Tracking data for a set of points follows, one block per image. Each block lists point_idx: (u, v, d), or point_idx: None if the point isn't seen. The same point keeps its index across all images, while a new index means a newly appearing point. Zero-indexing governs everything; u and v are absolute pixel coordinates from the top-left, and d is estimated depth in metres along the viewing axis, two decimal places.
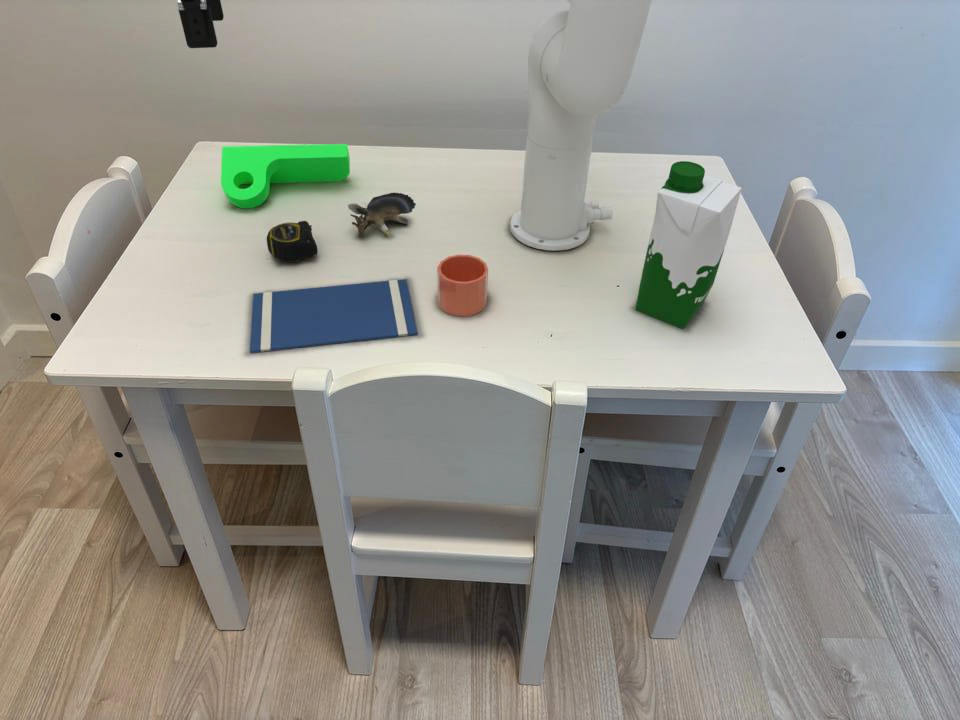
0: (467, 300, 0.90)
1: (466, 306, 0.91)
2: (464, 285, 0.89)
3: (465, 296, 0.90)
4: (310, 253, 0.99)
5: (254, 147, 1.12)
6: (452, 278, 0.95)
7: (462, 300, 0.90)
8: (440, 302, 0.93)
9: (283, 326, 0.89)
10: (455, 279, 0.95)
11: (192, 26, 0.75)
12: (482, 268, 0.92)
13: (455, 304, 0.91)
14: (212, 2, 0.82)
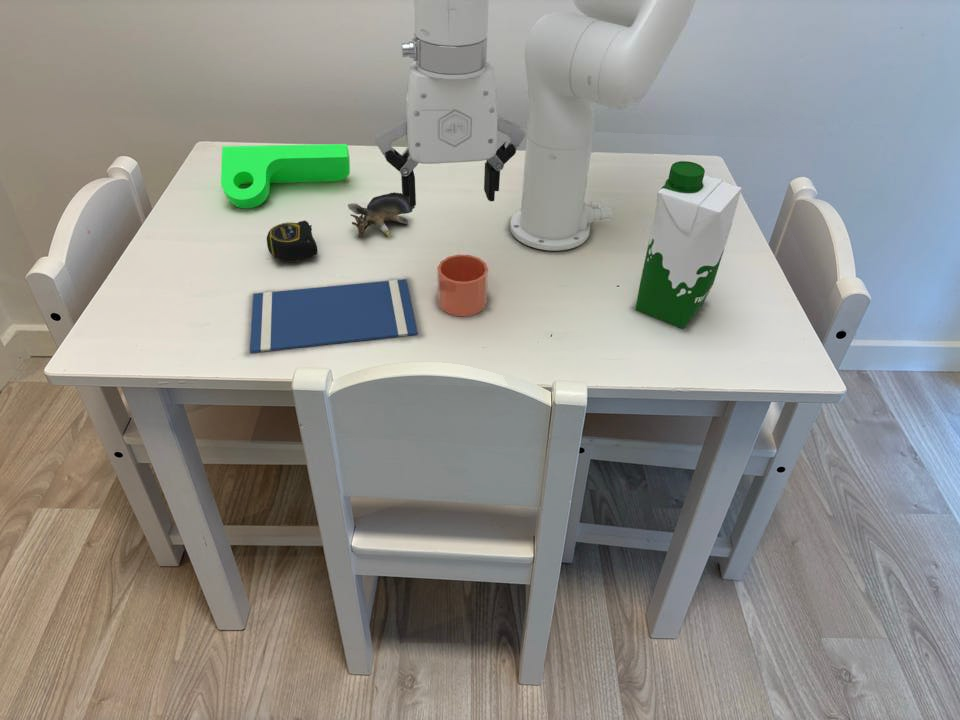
0: (467, 300, 0.90)
1: (466, 306, 0.91)
2: (464, 285, 0.89)
3: (465, 296, 0.90)
4: (310, 253, 0.99)
5: (254, 147, 1.12)
6: (452, 278, 0.95)
7: (462, 300, 0.90)
8: (440, 302, 0.93)
9: (283, 326, 0.89)
10: (455, 279, 0.95)
11: None
12: (482, 268, 0.92)
13: (455, 304, 0.91)
14: (488, 183, 0.83)
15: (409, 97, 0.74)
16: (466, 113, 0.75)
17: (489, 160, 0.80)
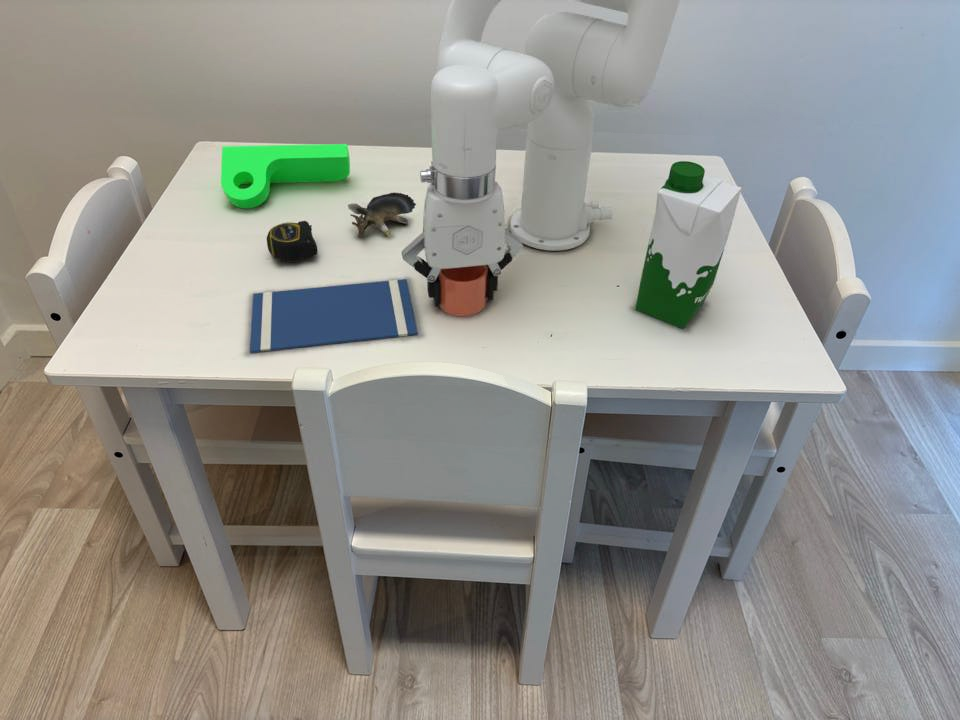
0: (467, 300, 0.90)
1: (466, 306, 0.91)
2: (464, 285, 0.89)
3: (465, 296, 0.90)
4: (310, 253, 0.99)
5: (254, 147, 1.12)
6: (452, 278, 0.95)
7: (462, 301, 0.90)
8: (440, 302, 0.93)
9: (283, 326, 0.89)
10: (455, 279, 0.95)
11: (427, 284, 0.92)
12: (482, 268, 0.92)
13: (455, 304, 0.91)
14: (487, 285, 0.93)
15: (427, 216, 0.83)
16: (477, 228, 0.84)
17: (488, 268, 0.90)
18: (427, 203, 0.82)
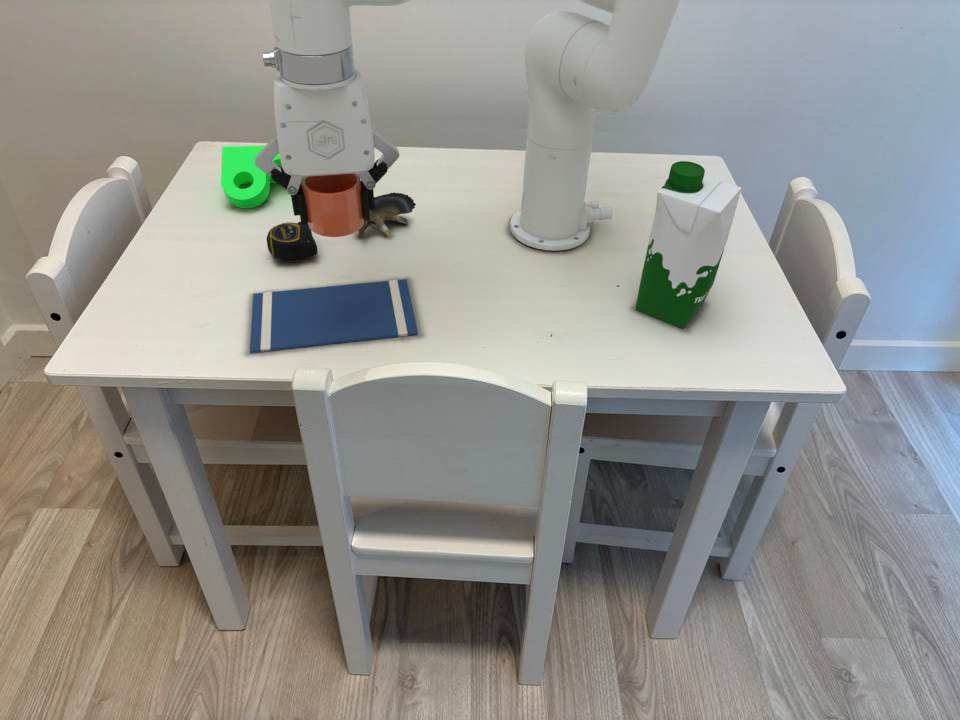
0: (335, 216, 0.78)
1: (335, 224, 0.79)
2: (329, 197, 0.77)
3: (332, 211, 0.78)
4: (310, 253, 0.99)
5: (254, 147, 1.12)
6: None
7: (329, 217, 0.78)
8: None
9: (283, 326, 0.89)
10: None
11: None
12: (356, 182, 0.80)
13: (322, 222, 0.79)
14: None
15: (274, 108, 0.71)
16: (335, 124, 0.72)
17: None
18: (274, 93, 0.70)
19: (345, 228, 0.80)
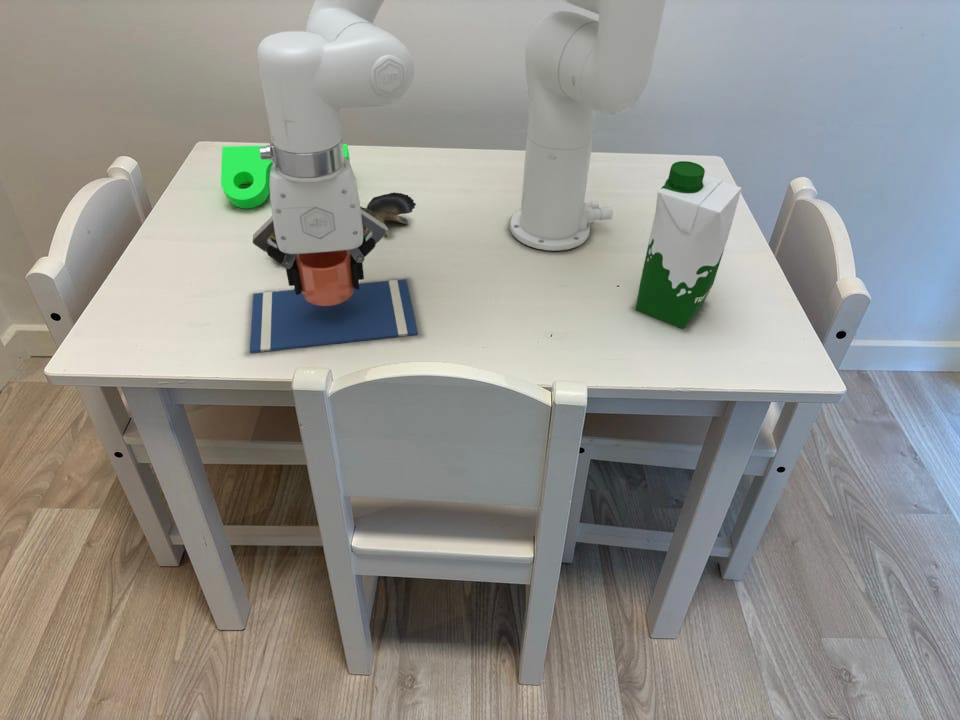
0: (327, 288, 0.85)
1: (327, 295, 0.85)
2: (321, 272, 0.83)
3: (324, 284, 0.84)
4: None
5: (254, 147, 1.12)
6: (318, 266, 0.89)
7: (321, 289, 0.85)
8: (301, 290, 0.87)
9: (283, 326, 0.89)
10: (322, 267, 0.90)
11: None
12: (346, 255, 0.87)
13: (315, 293, 0.85)
14: None
15: (270, 196, 0.77)
16: (327, 210, 0.78)
17: None
18: (270, 182, 0.76)
19: (336, 298, 0.86)
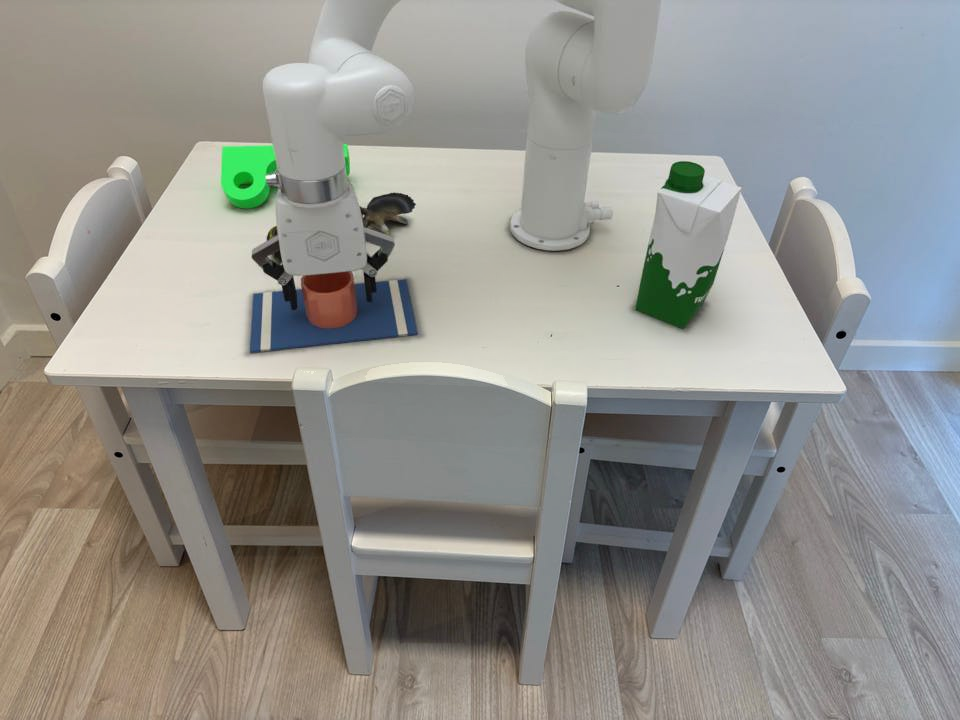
0: (331, 312, 0.87)
1: (331, 318, 0.88)
2: (325, 296, 0.85)
3: (328, 308, 0.87)
4: None
5: (254, 147, 1.12)
6: (322, 288, 0.92)
7: (325, 312, 0.87)
8: (306, 313, 0.90)
9: (283, 326, 0.89)
10: (326, 289, 0.92)
11: None
12: (349, 278, 0.89)
13: (319, 316, 0.88)
14: None
15: (276, 221, 0.79)
16: (331, 233, 0.80)
17: (362, 268, 0.86)
18: (276, 207, 0.79)
19: (340, 321, 0.89)
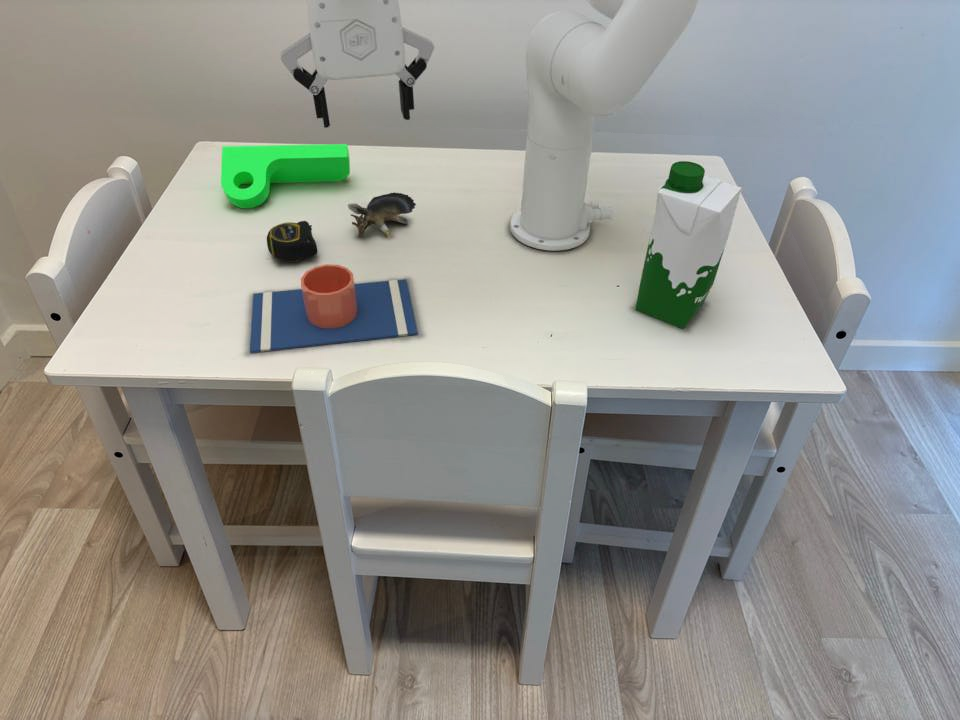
0: (331, 312, 0.87)
1: (331, 318, 0.88)
2: (325, 296, 0.85)
3: (328, 308, 0.87)
4: (310, 253, 0.99)
5: (254, 147, 1.12)
6: (322, 288, 0.92)
7: (325, 312, 0.87)
8: (306, 313, 0.90)
9: (283, 326, 0.89)
10: (326, 289, 0.92)
11: None
12: (349, 278, 0.89)
13: (319, 316, 0.88)
14: (402, 101, 0.83)
15: (308, 8, 0.73)
16: (368, 23, 0.74)
17: (400, 75, 0.80)
18: None
19: (340, 321, 0.89)
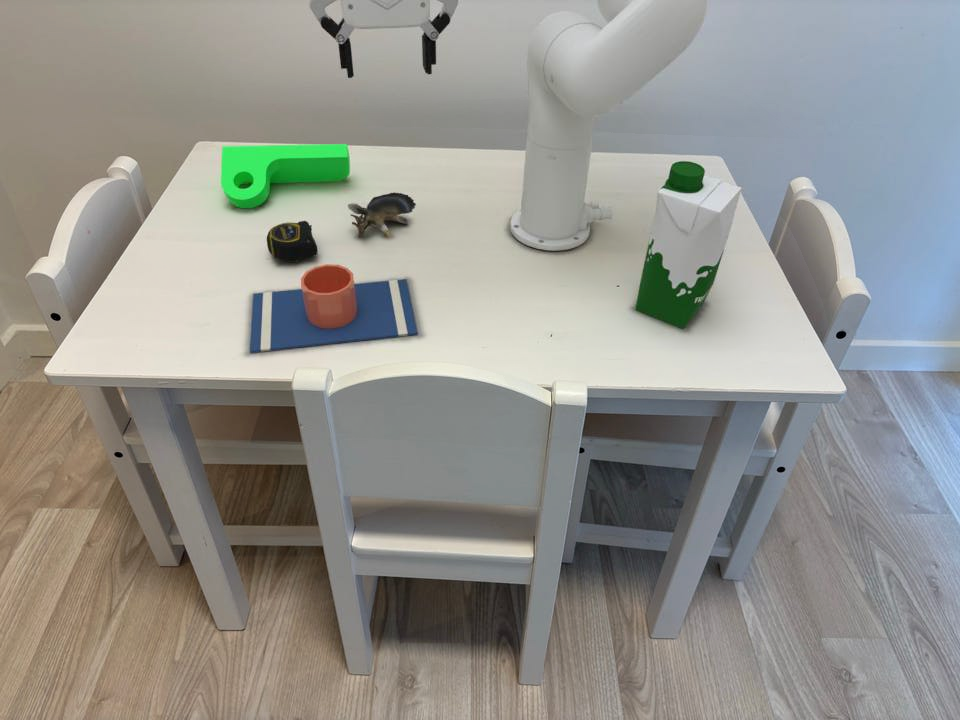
0: (331, 312, 0.87)
1: (331, 318, 0.88)
2: (325, 296, 0.85)
3: (328, 308, 0.87)
4: (310, 253, 0.99)
5: (254, 147, 1.12)
6: (322, 288, 0.92)
7: (325, 312, 0.87)
8: (306, 313, 0.90)
9: (283, 326, 0.89)
10: (326, 289, 0.92)
11: (339, 52, 0.84)
12: (349, 278, 0.89)
13: (319, 316, 0.88)
14: (424, 55, 0.85)
15: None
16: None
17: (424, 28, 0.82)
18: None
19: (340, 321, 0.89)
